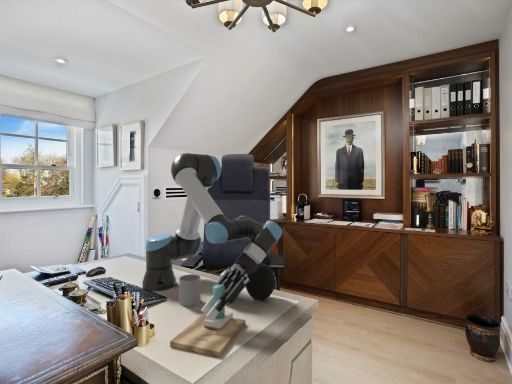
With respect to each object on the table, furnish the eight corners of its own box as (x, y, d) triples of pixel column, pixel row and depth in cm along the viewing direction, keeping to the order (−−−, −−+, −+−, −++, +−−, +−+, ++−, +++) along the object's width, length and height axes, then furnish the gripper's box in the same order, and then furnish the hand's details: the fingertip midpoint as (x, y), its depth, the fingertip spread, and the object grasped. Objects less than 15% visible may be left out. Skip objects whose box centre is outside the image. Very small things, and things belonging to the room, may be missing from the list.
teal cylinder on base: (203, 326, 94) (203, 289, 93) (217, 314, 102) (217, 281, 102) (220, 329, 91) (220, 292, 91) (232, 317, 100) (232, 283, 99)
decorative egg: (245, 306, 113) (245, 268, 113) (244, 294, 126) (244, 259, 125) (276, 305, 114) (276, 267, 114) (272, 293, 127) (272, 259, 126)
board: (170, 346, 85) (170, 341, 85) (203, 317, 104) (203, 312, 104) (219, 357, 80) (219, 351, 80) (245, 324, 99) (245, 319, 99)
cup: (189, 308, 111) (189, 282, 111) (174, 303, 116) (174, 278, 116) (204, 300, 119) (204, 276, 118) (190, 296, 123) (190, 273, 123)
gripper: (270, 271, 97) (225, 332, 89) (245, 259, 111) (204, 311, 103) (256, 257, 94) (208, 319, 86) (233, 247, 108) (190, 300, 100)
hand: (206, 315), depth 94 cm, fingers closed on teal cylinder on base, 4 cm apart
